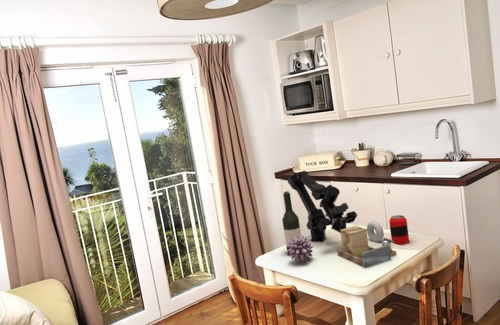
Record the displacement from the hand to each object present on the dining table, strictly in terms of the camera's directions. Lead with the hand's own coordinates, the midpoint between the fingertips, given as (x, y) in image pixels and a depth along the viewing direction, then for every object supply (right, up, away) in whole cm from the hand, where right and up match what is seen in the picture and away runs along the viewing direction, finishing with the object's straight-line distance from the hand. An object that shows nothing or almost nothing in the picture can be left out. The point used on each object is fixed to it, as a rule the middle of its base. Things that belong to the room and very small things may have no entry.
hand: (346, 235), depth 191 cm
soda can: (+26, -4, +3) cm, 26 cm away
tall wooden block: (+3, -7, -5) cm, 9 cm away
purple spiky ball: (-20, -12, -1) cm, 23 cm away
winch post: (+15, -7, -11) cm, 20 cm away
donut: (+16, -5, +9) cm, 19 cm away
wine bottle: (-22, -10, +12) cm, 27 cm away
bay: (+5, -8, -9) cm, 13 cm away
